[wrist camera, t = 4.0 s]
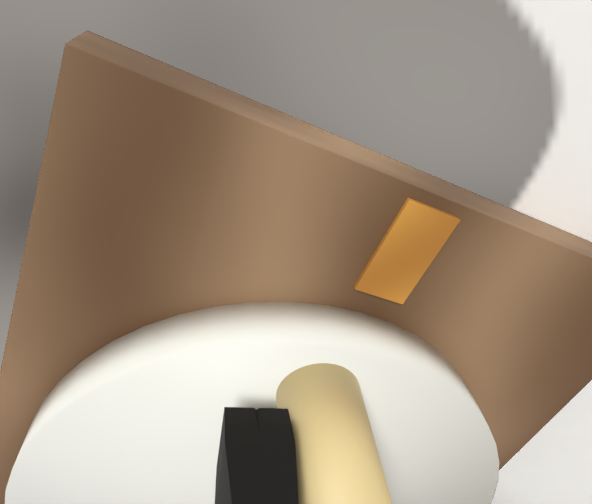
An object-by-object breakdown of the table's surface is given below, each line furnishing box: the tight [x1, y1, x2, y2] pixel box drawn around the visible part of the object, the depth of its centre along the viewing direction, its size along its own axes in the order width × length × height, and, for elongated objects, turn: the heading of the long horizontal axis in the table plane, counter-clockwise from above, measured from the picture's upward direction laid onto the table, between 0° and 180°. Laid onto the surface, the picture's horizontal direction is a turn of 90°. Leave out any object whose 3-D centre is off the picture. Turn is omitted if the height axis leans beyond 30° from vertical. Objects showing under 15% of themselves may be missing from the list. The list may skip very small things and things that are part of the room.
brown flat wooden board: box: [0, 31, 592, 504], centre depth 16 cm, size 16×21×2 cm
